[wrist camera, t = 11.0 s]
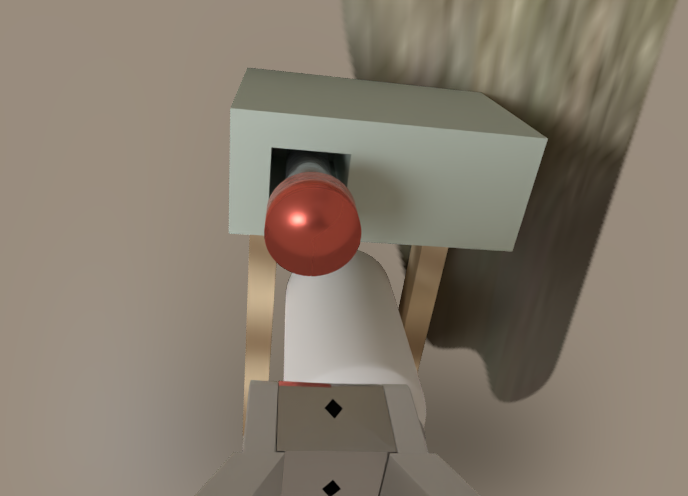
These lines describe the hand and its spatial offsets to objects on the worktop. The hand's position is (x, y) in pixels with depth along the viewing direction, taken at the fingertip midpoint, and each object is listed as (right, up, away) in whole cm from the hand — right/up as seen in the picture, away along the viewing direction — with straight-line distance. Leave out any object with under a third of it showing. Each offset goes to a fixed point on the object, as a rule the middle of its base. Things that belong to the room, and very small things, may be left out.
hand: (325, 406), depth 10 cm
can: (0, +1, +22) cm, 22 cm away
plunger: (-1, +7, +13) cm, 14 cm away
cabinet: (+1, +9, +17) cm, 20 cm away
